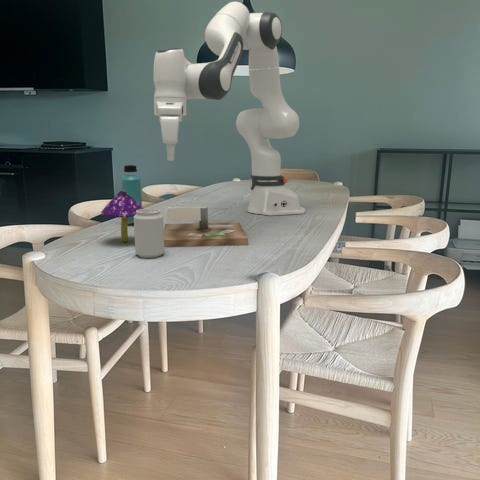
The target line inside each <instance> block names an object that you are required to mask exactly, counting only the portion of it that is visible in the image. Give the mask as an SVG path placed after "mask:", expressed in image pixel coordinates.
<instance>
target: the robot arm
mask: <svg viewBox="0 0 480 480" xmlns="http://www.w3.org/2000/svg"><path fill="white" fill-rule="evenodd" d="M282 35H283V25H282V21H281V19H280V17H279V16H278V15H277V14H276V13H275V12H271V11H264V12H251V13H250V10H249V8H248V7H247V6H246V5H245V4H243V3H242V2H240V1H230V2H229V3H227V4H225V5H224V6H223V7H222V8H221V9H220V10H219V11H218V12H216V14H215V15H214V16H213V18H211V20H210V21H209V22H208V24H207V26H206V28H205V31H204V39H205V43H206V45H207V47H208V48H209V49H210V51H211V52H212V53H213V54H215V55H216V56H218V59H216V60H214V61H209V62H202V63H199V62H198V63H192V62H190V61H189V60H188V59H187V58H186V56H185V52H184V50H183V48H180V47H168V48H160V49H158V50H157V51H156V52H155V54H154V61H153V85H154V95H153V109H154V110H153V111H154V116H158V121H159V124H160V131H161V138H162V139H161V140H162V143H163V144H165V145H166V155H167V156H166V158H167V161H169V162H174V161H175V158H176V156H175V155H176V144H177V143H178V141H179V140H178V139H179V138H178V137H179V128H180V127H179V126H180V123H182V121H183V117H186V116H187V100H207V99H208V100H213V101H214V100H217V101H220V100H222V99H224V98H225V97H226V95H228V93H229V91H230V89H231V86H232V81H233V76H234V74H235V72H236V69H237V68H238V65H239V62H240V60H241V57H242V55H243V51H248V75H249V78H248V79H249V90H250V92H251V94H252V95H253V96H254V97H255V98H257V99H258V100H259V101H260V103H261V105H262V108H249V109H244V110H243V111H241V112H239V114H238V115H237V117H236V121H235V124H236V131H237V132H238V133H239V134H240V136H242V137H243V139H244V140H245V142H246V143H247V145H248V146H247V147H248V149H249V151H250V157H251V175H250V180H249V181H250V185H249V186H250V187H249V188H250V197H249V202H248V203H249V204H248V207H247V210H246V211H247V212H249V213H251V214H256V215H265V216H285V215H303V214H306V209H305V207H303V206H300V205H301V204H300V199H299V196H298V195H297V194H296V192H294V191H293V190H292V189H291V188H289V187H288V186H287V185H286V184H287V183H288V182H289V178H288V177H287V176H283V175H281V173H282V170H281V168H282V166H281V165H282V162H281V161H282V156H281V154H280V152H279V151H278V150H276V149H275V148H273V146H272V144H271V142H270V139H281V140H282V139H286V138H287V139H288V138H292V137H294V136H296V134H297V133H298V131H299V127H300V117H299V114H297V112H296V111H295V110H294V109H292V108H291V106H289V104H288V102H287V101H286V99H285V97H284V95H283V91H282V86H281V85H282V84H281V75H280V59H279V53H278V48H277V44H279V42H280V41H281V38H282Z"/></svg>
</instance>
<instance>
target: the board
mask: <svg viewBox="0 0 480 480" xmlns="http://www.w3.org/2000/svg"><path fill="white" fill-rule="evenodd" d="M208 225H233V227H223V228H208V229H207V230H200V229H199V222H197V223H194V222H193V223H191V222H190V223H165V224H164V248H176V247H177V248H182V247H214V246H215V247H219V246H249V236H248V235H247V233H246V232H245V230H244V229H243V227H242V225H241V224H240V222H208Z"/></svg>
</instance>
